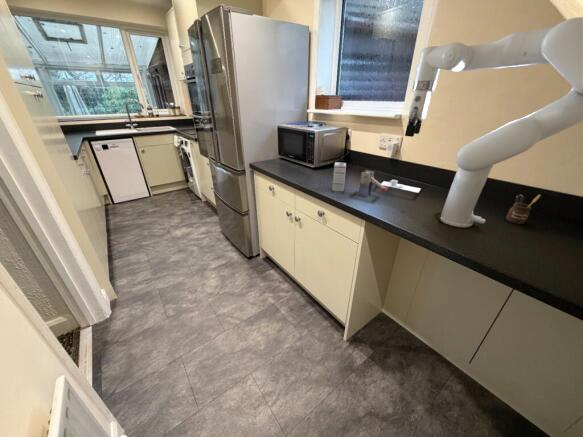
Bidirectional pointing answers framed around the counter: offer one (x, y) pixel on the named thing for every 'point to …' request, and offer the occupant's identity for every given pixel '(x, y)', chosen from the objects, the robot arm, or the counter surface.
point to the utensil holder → (520, 211)
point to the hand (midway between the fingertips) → (412, 134)
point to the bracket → (366, 183)
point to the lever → (379, 184)
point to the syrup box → (339, 176)
